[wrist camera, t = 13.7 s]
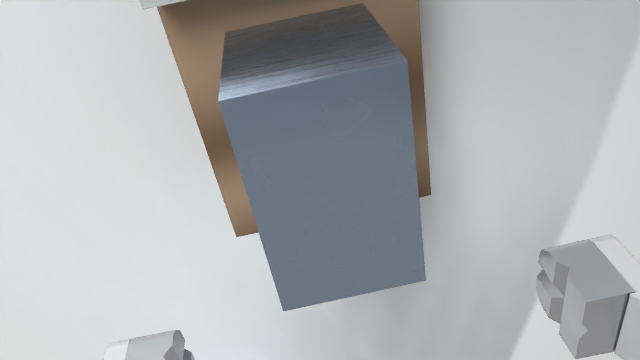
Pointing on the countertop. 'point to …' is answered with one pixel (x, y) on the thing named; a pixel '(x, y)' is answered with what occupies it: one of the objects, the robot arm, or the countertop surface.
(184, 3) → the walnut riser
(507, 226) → the countertop surface
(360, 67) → the block
